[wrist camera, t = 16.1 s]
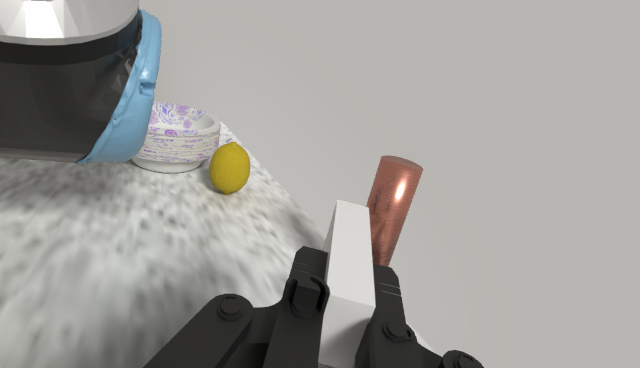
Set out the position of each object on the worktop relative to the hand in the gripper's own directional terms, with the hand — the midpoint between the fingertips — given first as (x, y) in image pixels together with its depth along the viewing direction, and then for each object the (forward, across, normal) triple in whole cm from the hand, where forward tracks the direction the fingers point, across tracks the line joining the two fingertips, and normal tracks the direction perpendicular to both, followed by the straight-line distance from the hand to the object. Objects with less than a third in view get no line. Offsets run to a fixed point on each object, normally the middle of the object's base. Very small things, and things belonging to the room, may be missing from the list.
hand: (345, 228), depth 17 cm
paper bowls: (+37, -26, -17) cm, 48 cm away
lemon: (+31, -14, -16) cm, 38 cm away
